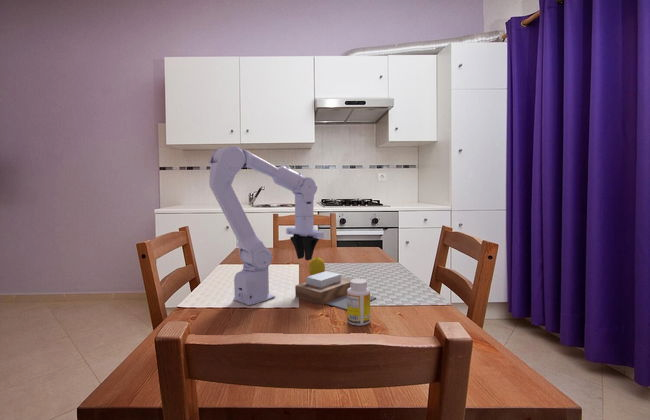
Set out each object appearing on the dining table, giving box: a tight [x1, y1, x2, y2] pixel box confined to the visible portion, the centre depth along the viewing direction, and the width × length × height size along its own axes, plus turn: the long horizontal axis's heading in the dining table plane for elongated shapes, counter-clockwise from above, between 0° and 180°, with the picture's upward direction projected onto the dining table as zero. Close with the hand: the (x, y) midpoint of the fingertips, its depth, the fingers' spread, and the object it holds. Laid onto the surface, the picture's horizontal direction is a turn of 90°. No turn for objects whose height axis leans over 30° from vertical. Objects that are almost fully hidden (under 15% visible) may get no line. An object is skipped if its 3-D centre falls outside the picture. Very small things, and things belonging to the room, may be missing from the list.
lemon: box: [308, 256, 326, 276], centre depth 128 cm, size 6×6×8 cm
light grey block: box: [305, 270, 342, 287], centre depth 112 cm, size 9×6×2 cm, turn 139°
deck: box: [294, 276, 354, 306], centre depth 112 cm, size 16×10×4 cm, turn 139°
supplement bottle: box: [346, 278, 371, 327], centre depth 90 cm, size 6×6×10 cm
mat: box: [325, 295, 377, 311], centre depth 106 cm, size 13×8×1 cm, turn 139°
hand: (304, 259), depth 117 cm, fingers open, 3 cm apart
